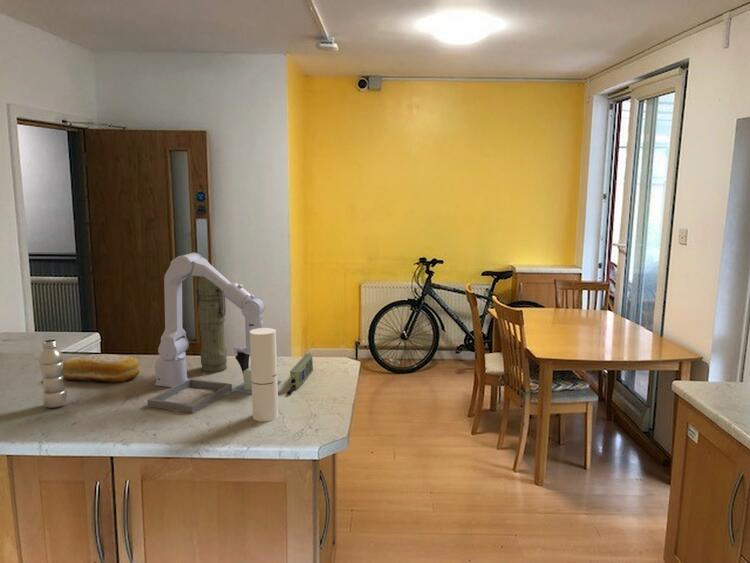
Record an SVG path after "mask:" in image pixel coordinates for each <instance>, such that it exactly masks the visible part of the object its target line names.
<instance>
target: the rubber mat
mask: <svg viewBox="0 0 750 563" xmlns="http://www.w3.org/2000/svg"><path fill="white" fill-rule="evenodd" d="M281 383H282V380H279V379H277V386H278V385H279V384H281ZM230 392H231V393H236V394H237V393H238V394H244V395H251V396H252V390H247V389H244V382H242V383H240V384H239V385H236V386H235V387H234V388H232V390H231V391H230Z"/></svg>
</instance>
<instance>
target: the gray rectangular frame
mask: <svg viewBox="0 0 750 563" xmlns="http://www.w3.org/2000/svg"><path fill="white" fill-rule="evenodd" d="M190 387H198V388H199V387H200V388H207V389H213V390H215V391H214V392H211V393H210V394H208V395H207V396H204V397H203V398H201V399H200V400H198V401H195V402H194V403H192V404H187V403H180V402H176V401H175V402H174V401H167V400H166V399H167V398H171V397H172V396H174V395H176V394H179V393H180V392H182V391H184V390H185V389H187V388H190ZM232 389H233V384H232V383H227V382H220V381H212V380H203V379H198V378H192V377H191V378H188V380H186V381H184V382H182V383H180V384H178V385H176V386H174V387H169V388H168V389H166V390H165V391H162V392H160V393H158V394H156V395H154V396H152V397H151V398H148V399H147V407H151V408H158V409H164V410H170V411H175V412H183V413H184V412H185V413H190V414H194V413H195V412H197V411H200V410H201V409H202V408H204V407H206V406H208V405H209V404H211V403H213V402H214V401H217V400H218V399H219V398H221V397H223V396H224V395H226V394H228V393H229V392H231V390H232Z"/></svg>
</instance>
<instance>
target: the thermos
mask: <svg viewBox="0 0 750 563" xmlns="http://www.w3.org/2000/svg"><path fill="white" fill-rule="evenodd" d="M195 291H196V303H197V312H198V323H199V325H200V336H201V338H200V339H201V348H200V364H201V372H203V373H206V374H215V373H221V372H224V371H226V370H227V369H228V366H227V362H228V359H227V357H228V356H227V348H226V346H225V329H224V326H225V325H224V323H225V321H226V319H225V318H226V317H225V316H226V308H227V307H226V297H225V294H224V291H223V290H222V289H220V288H219V287H218V286H216V285H215V284H214V283H212V282H211V281H209V280H208V279H207V278H205V277H204V276H199V280H198V285H197V287H196V289H195Z"/></svg>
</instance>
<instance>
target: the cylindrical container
mask: <svg viewBox="0 0 750 563" xmlns="http://www.w3.org/2000/svg"><path fill="white" fill-rule="evenodd" d="M276 351H277V330H276V329H274V328H271V327H263V328H258V329H253V330H251V331H250V367H251V381H252V395H251V399H252V400H251V401H252V402H251V405H252V418H253V420H254V421H257V422H263V423H264V422H271V421H274V420H276V419H277V418H278V417H279V397H278V396H279V393H278V392H279V391H278V389H279V388H278V387H279V386H278V385H277V380H278V362H277V361H278V359H277V358H278V356H277V353H276Z"/></svg>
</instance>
